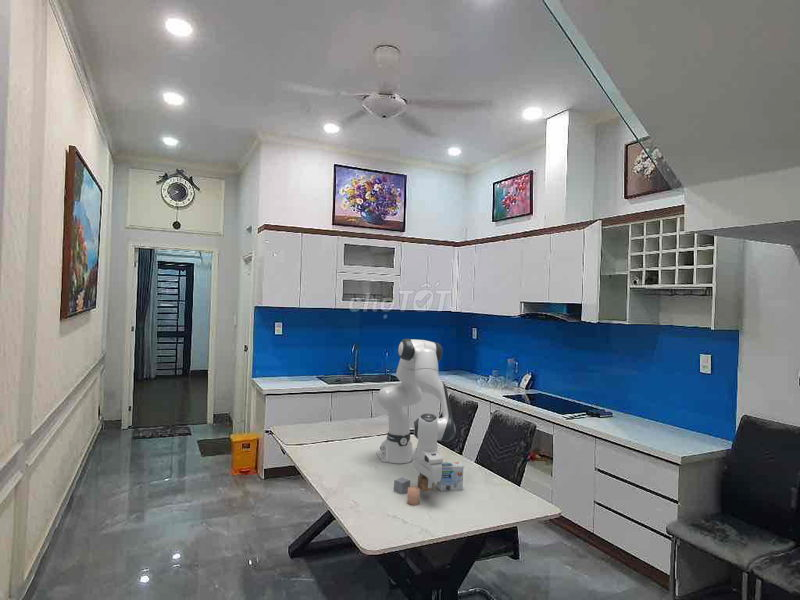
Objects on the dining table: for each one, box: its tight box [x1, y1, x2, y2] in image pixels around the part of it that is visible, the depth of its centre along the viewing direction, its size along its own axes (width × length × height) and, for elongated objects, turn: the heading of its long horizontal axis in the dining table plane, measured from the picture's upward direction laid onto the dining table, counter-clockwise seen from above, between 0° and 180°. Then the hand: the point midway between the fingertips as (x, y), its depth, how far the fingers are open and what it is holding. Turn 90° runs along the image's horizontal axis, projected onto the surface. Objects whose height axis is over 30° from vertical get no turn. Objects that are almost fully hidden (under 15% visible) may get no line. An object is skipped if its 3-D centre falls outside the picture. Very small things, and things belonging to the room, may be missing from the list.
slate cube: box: [393, 476, 411, 495], centre depth 223 cm, size 5×5×5 cm
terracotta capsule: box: [406, 485, 421, 506], centre depth 210 cm, size 5×5×6 cm
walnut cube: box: [417, 475, 435, 493], centre depth 217 cm, size 5×5×5 cm
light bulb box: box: [436, 461, 464, 492], centre depth 228 cm, size 11×7×11 cm, turn 101°
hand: (425, 484), depth 217 cm, fingers closed on walnut cube, 5 cm apart
